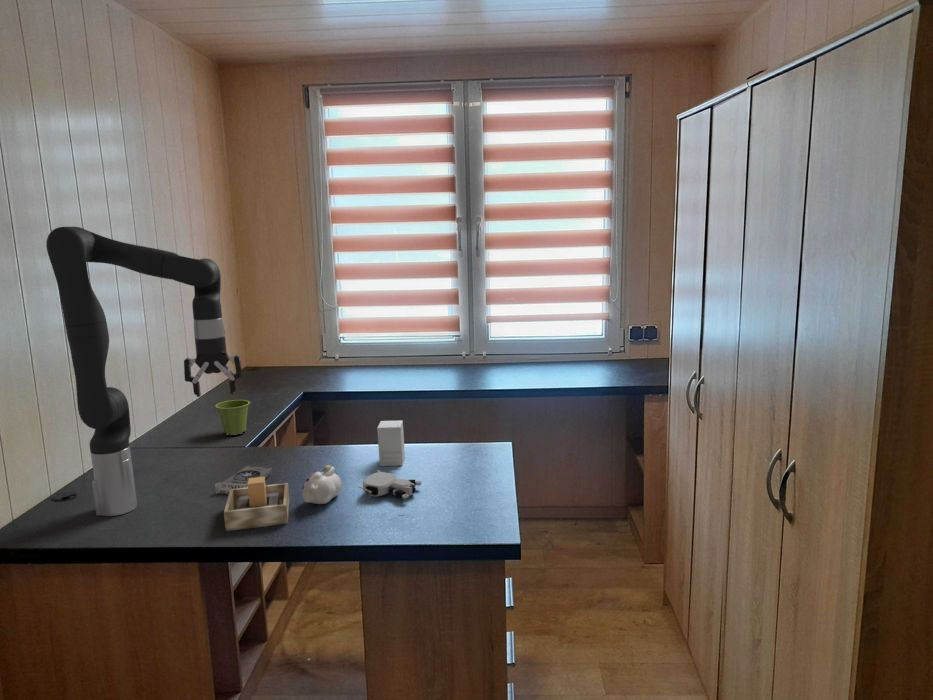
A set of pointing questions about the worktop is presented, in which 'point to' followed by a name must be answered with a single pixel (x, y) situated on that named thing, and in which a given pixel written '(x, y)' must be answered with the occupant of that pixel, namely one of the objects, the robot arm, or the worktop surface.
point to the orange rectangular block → (257, 492)
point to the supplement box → (391, 443)
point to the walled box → (257, 508)
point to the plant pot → (233, 415)
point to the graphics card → (241, 479)
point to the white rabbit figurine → (322, 486)
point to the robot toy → (388, 485)
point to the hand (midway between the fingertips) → (215, 394)
